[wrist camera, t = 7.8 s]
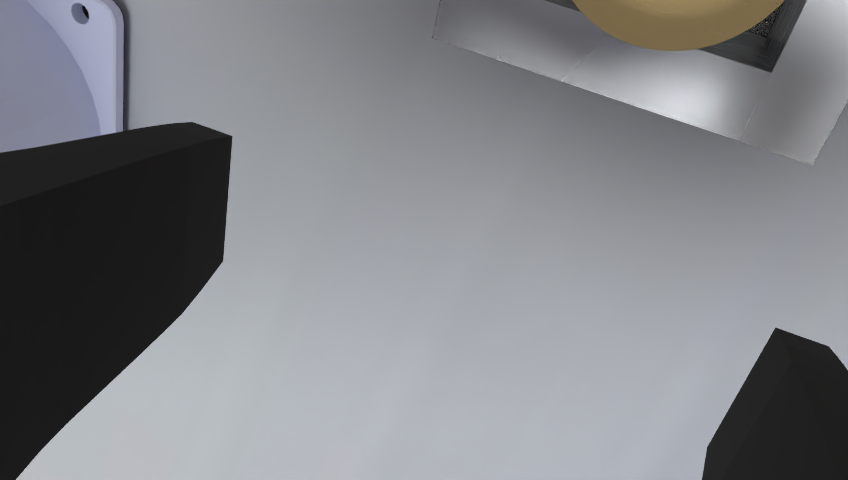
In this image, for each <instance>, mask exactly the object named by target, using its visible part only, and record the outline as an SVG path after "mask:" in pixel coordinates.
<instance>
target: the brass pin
mask: <svg viewBox="0 0 848 480" xmlns="http://www.w3.org/2000/svg"><path fill="white" fill-rule="evenodd" d="M572 1H573V2H574V3H575V5H576V6H577V7H578V9H579V10H580V11H581V12H582V13H583V14H584V15H585V16H586V17H587V18H588V19H589V20H590V21H591V22H592V23H594V24H595V25H596V26H598V27H599V28H601V29H602V30H603V31H605V32H606V33H608V34H610V35H612V36H614V37H615V38H617V39H619V40H622V41H624V42H627V43H629V44H632V45H635V46H639V47H643V48H647V49H654V50H662V51H684V50H691V49H699V48H703V47H707V46H711V45H715V44H718V43H721V42H723V41H726V40H728V39H731V38H733V37H735V36H737V35H739V34H741V33H743V32H745V31H747V30H749V29H750V28H752V27H753V26H755V25H756V24H758V23H759V22H760V21H762V20H763V19H765V18H766V17H767V16H768V15H770V14H771V13H772V12H773V11H774V10H775V9H776V8H778V7H779V6H780V5H781V4H782V3H783V2H784V0H572Z"/></svg>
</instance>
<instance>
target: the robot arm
mask: <svg viewBox="0 0 848 480" xmlns="http://www.w3.org/2000/svg"><path fill="white" fill-rule="evenodd" d="M82 5H84V6H85V8H86V9H87V10H88V13H89V19H88V18H87V17H86V16H85V14H84V13H83V9H82ZM123 44H124V22H123V15H122V13H121V11H120V9H119V7H118V6H117V5H116V4H115V2H114V1H112V0H0V480H16V478H17V477H18V476H19V475H20V474H21V473H22V472H23V470H24V469H25V468H26V467H27V466H28V465H29V463H30V462H31V461H32V460H33V459H34V458H35V456H36V455H37V454H38V453H39V452H40V451H41V450H42V448H43V447H44V446H45V445H46V444H47V443H48V442H49V441H50V440H51V439H52V438H53V437H54V436H55V435H56V434H57V433H58V432H59V431H60V430H61V429H62V428H63V427H64V426H65V425H66V424H67V423H68V422H69V421H70V420H71V419H72V418H73V417H74V416H75V415H76V414H77V413H78V412H80V411H81V410H82V409H83V408H84V407H85V406H86V405H87V404H88V403H89V402H90V401H91V400H92V399H93V398H94V397H95V396H96V395H98V394H99V393H100V392H101V391H102V390H103V389H104V388H105V387H106V386H107V385H108V384H109V383H110V382H111V381H112V380H113V379H114V378H116V377H117V376H118V375H119V374H120V373H121V372H122V371H123V370H124V369H125V368H126V367H127V366H128V365H129V364H130V363H131V362H133V361H134V360H135V359H136V358H137V357H138V356H139V355H140V354H141V353H142V352H143V351H144V350H145V349H146V348H147V347H148V346H149V345H150V344H151V343H152V342H153V341H155V340H156V339H157V338H158V337H159V336H160V335H161V334H162V333H163V332H164V331H165V330H166V329H167V328H168V327H169V326H170V325H171V324H172V323H173V322H174V321H175V320H176V319H177V318H178V317H179V316H180V315H181V314H182V313H183V312H184V311H185V309H186V308H187V307H188V306H189V304H190V303H191V302H192V301H193V300H194V298H195V297H196V296H197V295H198V293H199V292H200V291H201V290H202V288H203V287H204V286H205V284H206V283H207V282H208V280H209V279H210V278H211V276H212V275H213V274H214V272H215V271H216V270H217V268H218V267H219V266H220V264H221V263H222V262H223V254H224V241H225V227H226V214H227V200H228V187H229V174H230V160H231V147H232V136H230V135H227V134H225V133H222V132H219V131H216V130H213V129H210V128H208V127H205V126H202V125H199V124H196V123H193V122H187V123H173V124H165V125H158V126H151V127H145V128H139V129H133V130H127V131H123ZM702 480H848V370H847V369H846V367H845V366H844V365H843V364H842V362H841V361H840V360H839V358H838V357H837V356H836V355H835V353H834V352H833V351H832V350H831V349H830V348H829V346H826V345H823V344H820V343H817V342H815V341H812V340H809V339H806V338H803V337H800V336H798V335H795V334H792V333H789V332H786V331H783V330H781V329H778V328H775V330H774V331H773V333H772V335H771V337H770V338H769V340H768V342H767V344H766V345H765V347H764V349H763V351H762V352H761V354H760V356H759V358H758V359H757V361H756V363H755V365H754V366H753V368H752V370H751V372H750V373H749V375H748V377H747V379H746V380H745V382H744V384H743V386H742V387H741V389H740V391H739V393H738V394H737V396H736V398H735V400H734V401H733V403H732V405H731V407H730V408H729V410H728V412H727V414H726V415H725V417H724V419H723V421H722V422H721V424H720V426H719V428H718V429H717V431H716V433H715V435H714V436H713V438H712V440H711V442H710V443H709V445H708V447H707V453H706V459H705V465H704V471H703V477H702Z"/></svg>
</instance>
